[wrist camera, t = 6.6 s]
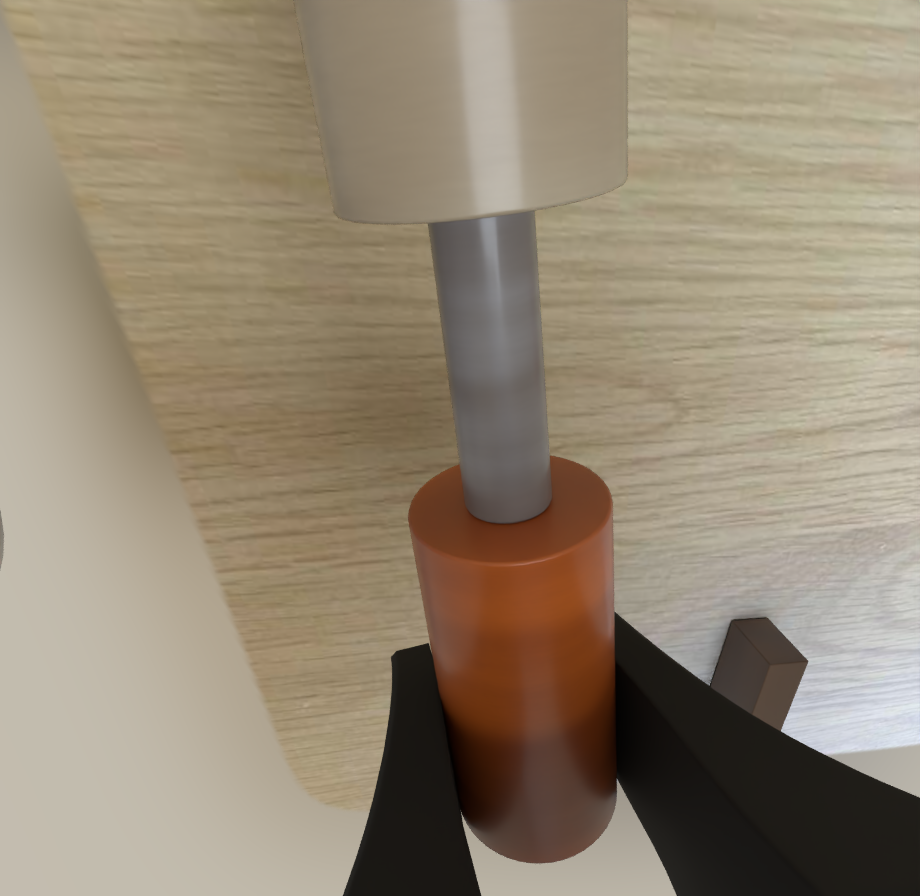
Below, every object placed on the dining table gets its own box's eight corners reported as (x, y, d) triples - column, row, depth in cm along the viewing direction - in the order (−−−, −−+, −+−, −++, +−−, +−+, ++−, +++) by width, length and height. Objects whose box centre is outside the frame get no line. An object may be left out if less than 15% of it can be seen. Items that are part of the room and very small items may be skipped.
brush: (587, 695, 14) (662, 844, 11) (432, 737, 13) (469, 903, 11) (543, -367, 7) (716, -697, 4) (218, -358, 6) (164, -718, 4)
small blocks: (505, 720, 26) (526, 779, 23) (519, 636, 24) (543, 691, 22) (740, 695, 28) (779, 746, 26) (768, 617, 26) (813, 665, 24)
